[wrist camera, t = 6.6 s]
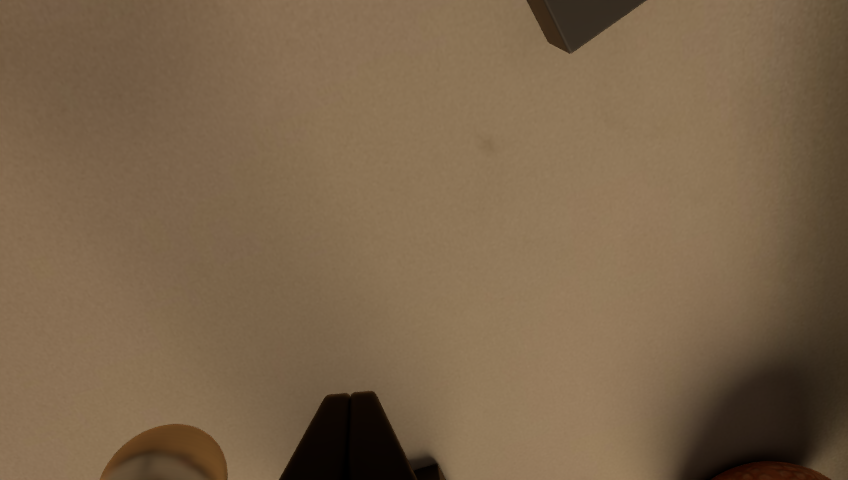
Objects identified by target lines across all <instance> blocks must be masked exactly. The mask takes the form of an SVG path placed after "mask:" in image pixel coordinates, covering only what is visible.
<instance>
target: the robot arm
mask: <svg viewBox="0 0 848 480" xmlns="http://www.w3.org/2000/svg"><path fill="white" fill-rule="evenodd" d="M279 480H417V478H416V476H415V474H414V472H413V470H412V468H411V466H410V463H409V461H408V459H407V457H406V455H405V453H404V451H403V449H402V447H401V445H400V443H399V441H398V439H397V437H396V434H395V432H394V430H393V428H392V426H391V424H390V422H389V420H388V418H387V416H386V414H385V412H384V410H383V408H382V406H381V403H380V401H379V399H378V397H377V395H376V394H375V393H374V392H373V391H365V392H355V393H353V394H352V395H351V397H350V395H349V394H347V393H342V394H330V395H327V396H326V397H325V398H324V399H323V401H322V403H321V405H320V406H319V408H318V410H317V412H316V414H315V416H314V417H313V419H312V421H311V423H310V425H309V426H308V428H307V430H306V432H305V434H304V435H303V437H302V439H301V441H300V443H299V445H298V446H297V448H296V450H295V452H294V454H293V455H292V457H291V459H290V461H289V463H288V464H287V466H286V468H285V470H284V472H283V473H282V475H281V477H280V479H279Z"/></svg>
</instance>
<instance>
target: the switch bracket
mask: <svg viewBox="0 0 848 480" xmlns="http://www.w3.org/2000/svg"><path fill="white" fill-rule="evenodd" d="M413 472H414V474H415V476H416V478H417V480H446V479H445V477H444V475H443V473H442V471H441V470H440V468H439V466H438V464H436V465H432V466H429V467H426V468H422V469H419V470H415V471H413Z"/></svg>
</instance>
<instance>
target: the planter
mask: <svg viewBox="0 0 848 480" xmlns="http://www.w3.org/2000/svg"><path fill="white" fill-rule="evenodd" d="M711 480H831V479H829V478H828V477H826V476H824V475H823V474H821V473H819V472H817V471H814V470H812V469H809V468H807V467H803V466H800V465H796V464H791V463H785V462H777V461H759V462H752V463H748V464H744V465H740V466H737V467H734V468H732V469H729V470H727V471H725V472H723V473H721V474H719V475H717V476H715V477H714V478H712V479H711Z"/></svg>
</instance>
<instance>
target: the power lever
mask: <svg viewBox="0 0 848 480" xmlns="http://www.w3.org/2000/svg"><path fill="white" fill-rule="evenodd" d="M227 478H228V472H227V463H226V460H225V457H224V454H223V452H222V450H221V448H220V446H219V445H218V443H217V442H216V441H215V440H214V439H213V438H212V437H211V436H210V435H209V434H207V433H206V432H204V431H203V430H201V429H199V428H196V427H193V426H189V425H184V424H169V425H163V426H158V427H155V428H152V429H149V430H147V431H144V432H142V433H141V434H139V435H137V436H135V437H134V438H132V439H131V440H130V441H128V442H127V443H126V444H124V445H123V446H122V447H121V448H120V449H119V450H118V451H117V452H116V453H115V455H114V456H113V457H112V458H111V460H110V461H109V463H108V464H107V466H106V467H105V469H104V471H103V473H102V475H101V478H100V480H227Z"/></svg>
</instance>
